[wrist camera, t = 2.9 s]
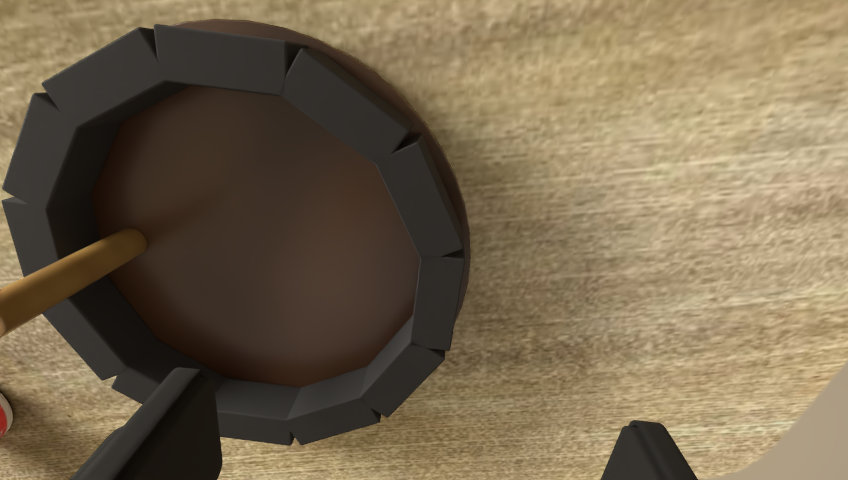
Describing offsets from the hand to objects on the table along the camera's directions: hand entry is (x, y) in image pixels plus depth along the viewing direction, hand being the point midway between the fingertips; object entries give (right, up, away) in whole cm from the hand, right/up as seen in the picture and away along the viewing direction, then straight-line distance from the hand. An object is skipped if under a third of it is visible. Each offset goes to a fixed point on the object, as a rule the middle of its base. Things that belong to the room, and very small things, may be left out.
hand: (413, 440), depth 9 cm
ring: (-7, +4, +8) cm, 11 cm away
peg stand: (-7, +4, +8) cm, 11 cm away
